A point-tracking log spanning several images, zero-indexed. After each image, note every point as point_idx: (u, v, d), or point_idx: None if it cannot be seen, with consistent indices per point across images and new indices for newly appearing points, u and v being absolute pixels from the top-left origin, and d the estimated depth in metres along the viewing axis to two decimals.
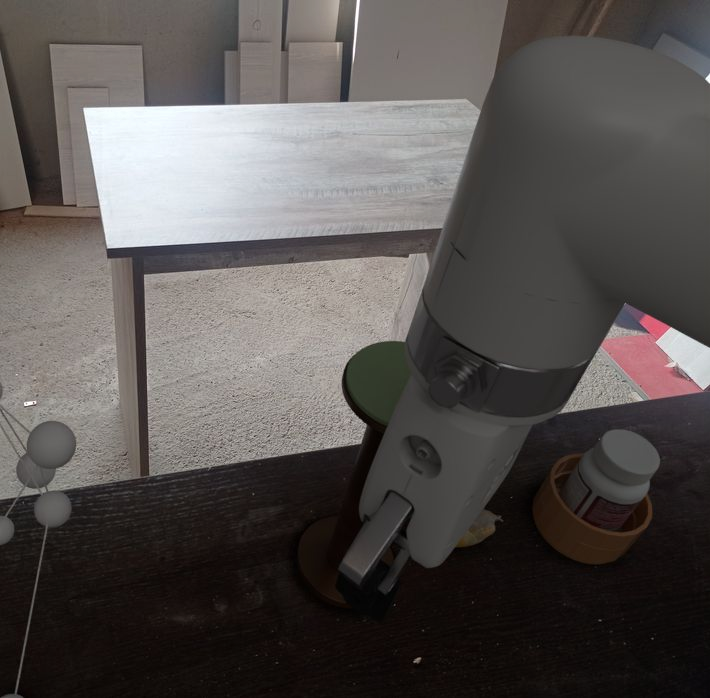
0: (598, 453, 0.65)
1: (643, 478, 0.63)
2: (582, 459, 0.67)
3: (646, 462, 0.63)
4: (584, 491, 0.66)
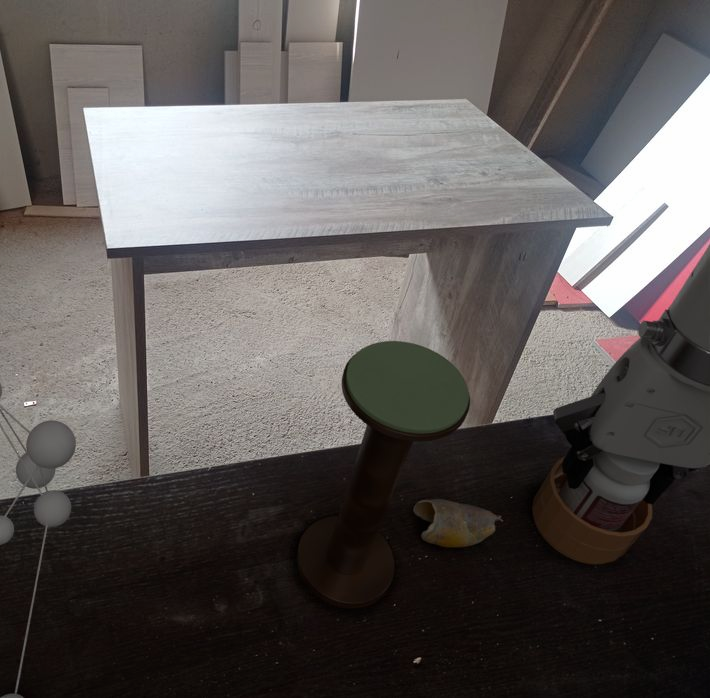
0: None
1: (643, 478, 0.63)
2: None
3: (646, 462, 0.63)
4: (584, 491, 0.66)
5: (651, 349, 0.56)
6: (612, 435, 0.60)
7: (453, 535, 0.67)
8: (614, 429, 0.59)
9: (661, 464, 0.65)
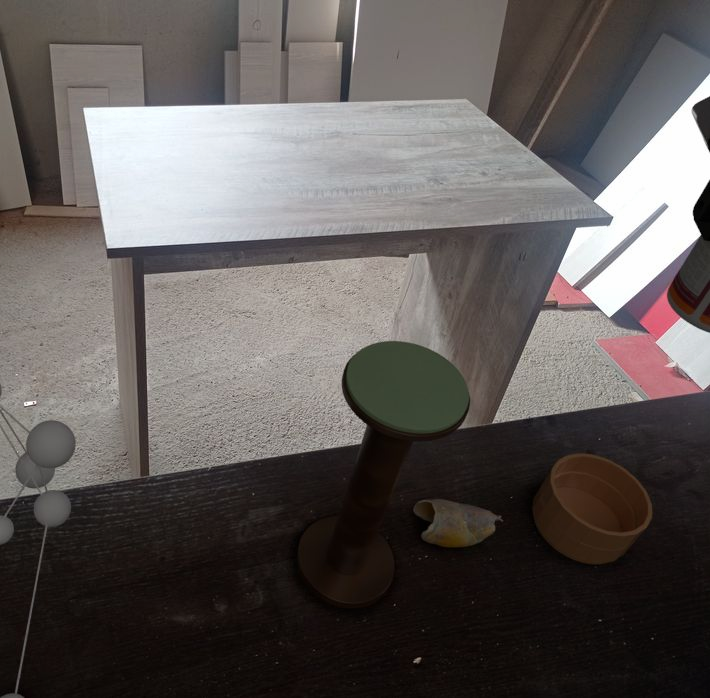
0: None
1: None
2: None
3: None
4: None
5: None
6: None
7: (453, 535, 0.67)
8: None
9: None
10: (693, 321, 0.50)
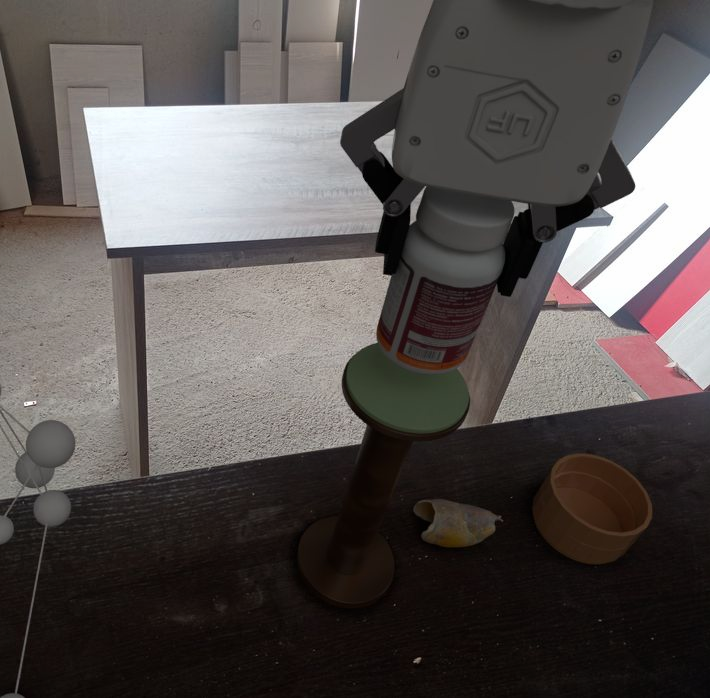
0: (420, 207, 0.41)
1: (484, 236, 0.39)
2: None
3: (490, 213, 0.39)
4: (405, 276, 0.42)
5: None
6: (418, 145, 0.36)
7: (453, 535, 0.67)
8: (419, 130, 0.35)
9: (520, 226, 0.41)
10: (392, 358, 0.46)
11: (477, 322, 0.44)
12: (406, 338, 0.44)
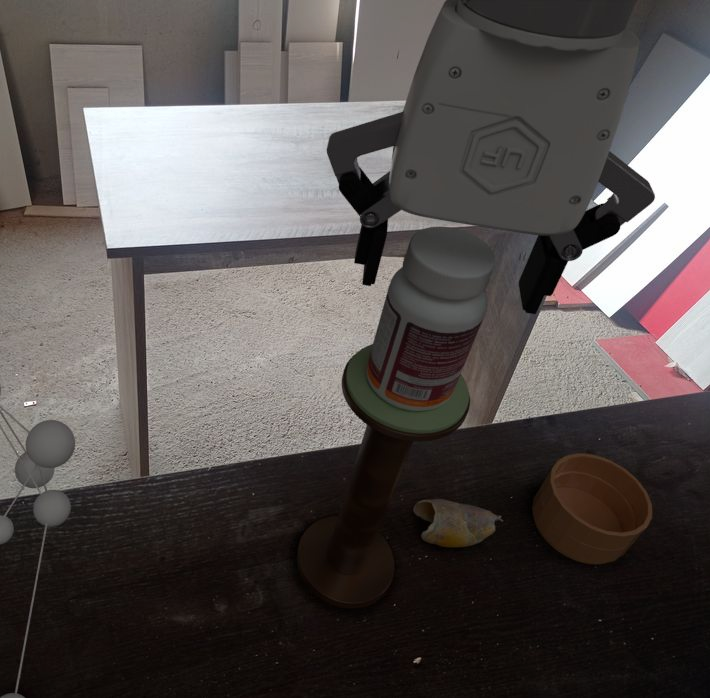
0: (406, 257, 0.43)
1: (466, 286, 0.41)
2: (393, 276, 0.46)
3: (472, 264, 0.42)
4: (392, 320, 0.45)
5: (457, 5, 0.33)
6: (414, 177, 0.37)
7: (453, 535, 0.67)
8: (415, 164, 0.36)
9: (545, 245, 0.41)
10: (381, 395, 0.48)
11: (461, 363, 0.46)
12: (394, 377, 0.47)
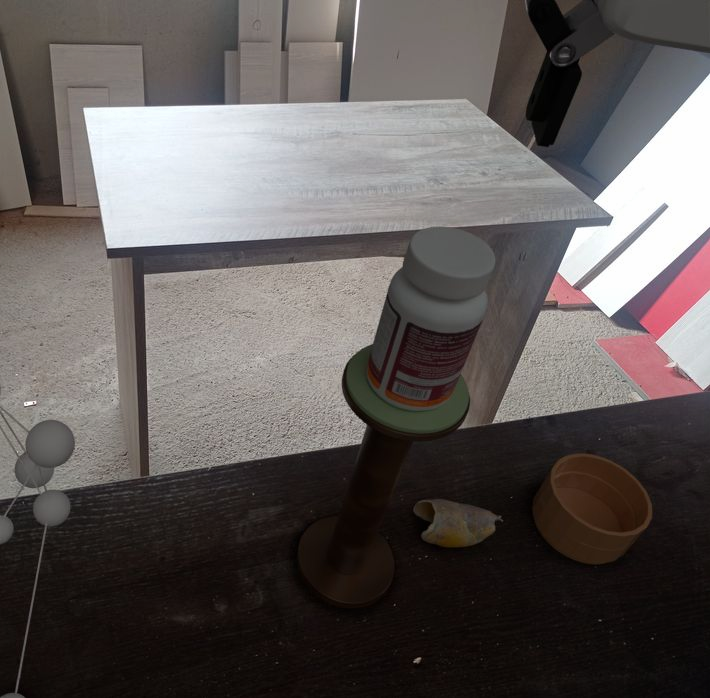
0: (406, 257, 0.43)
1: (466, 286, 0.41)
2: (393, 276, 0.46)
3: (472, 264, 0.42)
4: (392, 320, 0.45)
5: None
6: None
7: (453, 535, 0.67)
8: None
9: None
10: (381, 395, 0.48)
11: (461, 363, 0.46)
12: (394, 377, 0.47)
